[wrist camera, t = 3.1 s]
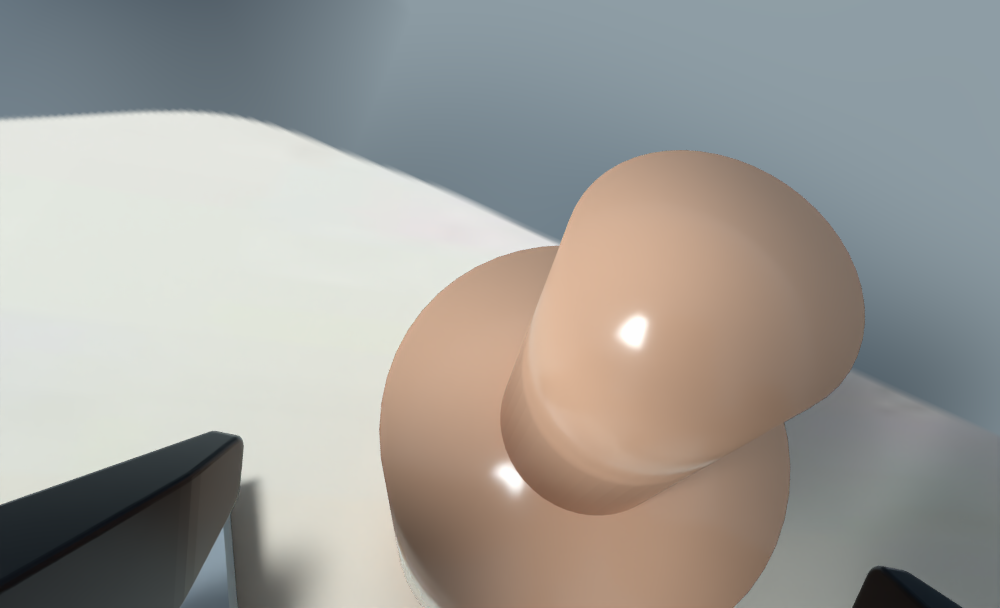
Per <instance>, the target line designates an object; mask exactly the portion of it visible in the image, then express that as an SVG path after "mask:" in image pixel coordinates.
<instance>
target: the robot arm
mask: <svg viewBox="0 0 1000 608" xmlns="http://www.w3.org/2000/svg"><path fill="white" fill-rule="evenodd" d="M243 448H244V445H243V440H242V438H241V437H240V436H237V435H233V434H228V433H223V432H218V431H211V432H207V433H205V434H202V435H199V436H196V437H193V438H190V439H187V440H185V441H182V442H179V443H176V444H173V445H170V446H167V447H165V448H162V449H159V450H156V451H153V452H150V453H147V454H145V455H142V456H139V457H136V458H133V459H130V460H127V461H125V462H122V463H119V464H116V465H113V466H110V467H107V468H105V469H102V470H99V471H96V472H93V473H90V474H87V475H85V476H82V477H79V478H76V479H73V480H70V481H67V482H64V483H62V484H59V485H56V486H53V487H50V488H47V489H44V490H42V491H39V492H36V493H33V494H30V495H27V496H24V497H22V498H19V499H16V500H13V501H10V502H7V503H4V504H2V505H0V608H180V607H181V605H182V604H183V602H184V601H185V599H186V597H187V595H188V593H189V591H190V590H191V588H192V586H193V584H194V582H195V580H196V578H197V576H198V574H199V573H200V571H201V569H202V567H203V565H204V563H205V561H206V559H207V557H208V555H209V553H210V551H211V549H212V548H213V546H214V544H215V542H216V540H217V538H218V536H219V534H220V532H221V530H222V528H223V526H224V524H225V523H226V521H227V519H228V517H229V515H230V513H231V511H232V509H233V507H234V505H235V503H236V500H237V497H238V494H239V490H240V481H241V470H242V459H243ZM852 608H962V607H961V606H959V605H958V604H956V603H955V602H953V601H952V600H950V599H949V598H947V597H945V596H944V595H942V594H941V593H939V592H938V591H936V590H935V589H933V588H932V587H930V586H929V585H927V584H926V583H924V582H923V581H921V580H919V579H918V578H916V577H915V576H913V575H912V574H910V573H908V572H906V571H903V570H899V569H894V568H889V567H884V566H876V567H874V568H872V569H871V570H870V571H869V573H868V574H867V577H866V579H865V581H864V583H863V585H862V588H861V590H860V592H859V594H858V596H857V598H856V601H855V603H854V605H853V607H852Z"/></svg>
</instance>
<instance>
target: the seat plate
mask: <svg viewBox="0 0 1000 608" xmlns="http://www.w3.org/2000/svg"><path fill="white" fill-rule="evenodd" d="M180 608H238V605H237V593H236V580H235V568H234V555H233V543H232V530H231V518H230V515H229V517H228V519H227V521H226V523H225V524H224V526H223V528H222V530H221V532H220V534H219V536H218V538H217V540H216V542H215V544H214V546H213V548H212V549H211V551H210V553H209V555H208V557H207V559H206V561H205V563H204V565H203V567H202V569H201V571H200V573H199V574H198V576H197V578H196V580H195V582H194V584H193V586H192V588H191V590H190V591H189V593H188V595H187V597H186V599H185V601H184V602H183V604H182V605H181V607H180Z"/></svg>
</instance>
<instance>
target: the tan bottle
mask: <svg viewBox="0 0 1000 608" xmlns="http://www.w3.org/2000/svg"><path fill="white" fill-rule="evenodd" d="M864 309H865V307H864V299H863V294H862V288H861V284H860V281H859V278H858V274H857V271H856V269H855V266H854V264H853V262H852V260H851V258H850V255H849V253H848V251H847V250H846V248H845V246H844V245H843V243H842V241H841V239H840V238H839V236H838V235H837V234H836V232H835V231H834V230H833V228H832V227H831V226H830V224H829V223H828V222H827V221H826V220H825V218H824V217H823V216H822V215H821V214H820V213H819V212H818V211H817V210H816V209H815V208H814V207H813V206H812V205H811V204H810V203H809V202H808V201H807V200H806V199H805V198H803V197H802V196H801V195H800V194H798V193H797V192H796V191H794V190H793V189H792V188H791V187H789V186H788V185H787V184H785V183H783V182H782V181H780V180H778V179H777V178H775V177H774V176H772V175H770V174H768V173H766V172H764V171H762V170H760V169H758V168H756V167H754V166H752V165H749V164H747V163H744V162H741V161H739V160H736V159H733V158H729V157H725V156H722V155H718V154H712V153H706V152H701V151H688V150H676V151H662V152H655V153H649V154H646V155H642V156H638V157H635V158H632V159H630V160H628V161H625V162H623V163H620V164H619V165H617V166H615V167H613V168H612V169H610V170H608V171H607V172H606V173H604V174H603V175H602V176H601V177H599V178H598V179H597V180H596V181H594V182H593V184H592V185H591V186H590V187H589V188H588V189H587V190H586V191H585V193H584V194H583V196H582V197H581V198H580V200H579V202H578V203H577V205H576V206H575V208H574V211H573V213H572V216H571V218H570V220H569V223H568V225H567V228H566V230H565V233H564V236H563V239H562V241H561V243H560V246H547V247H538V248H532V249H527V250H521V251H517V252H514V253H510V254H507V255H504V256H501V257H497V258H495V259H493V260H491V261H488V262H486V263H484V264H482V265H479V266H477V267H475V268H474V269H472V270H470V271H469V272H467V273H465V274H464V275H462V276H461V277H459V278H457V279H456V280H455V281H453V282H452V283H451V284H450V285H448V286H447V287H446V288H445V289H443V290H442V291H441V292H440V293H438V294H437V296H436V297H435V298H434V299H433V300H432V301H431V302H430V303H429V304H428V305H427V306H426V307H425V308H424V309H423V310H422V311H421V313H420V314H419V316H418V317H417V318H416V320H415V321H414V323H413V324H412V325H411V327H410V328H409V329H408V331H407V333H406V335H405V337H404V338H403V340H402V342H401V344H400V346H399V348H398V350H397V352H396V354H395V357H394V359H393V362H392V365H391V368H390V370H389V373H388V376H387V380H386V384H385V389H384V393H383V398H382V403H381V415H380V428H379V432H380V449H381V461H382V466H383V471H384V477H385V482H386V488H387V493H388V499H389V504H390V510H391V515H392V520H393V526H394V531H395V537H396V542H397V548H398V553H399V558H400V563H401V567H402V570H403V573H404V576H405V579H406V581H407V583H408V585H409V587H410V589H411V591H412V593H413V594H414V596H415V597H416V599H417V600H418V602H419V603H420V605H421V606H422V607H423V608H733V607H734V606H735V605H736V604H737V603H738V602H739V601H740V600H741V599H742V598H743V597H744V596H745V595H746V594H747V593H748V592H749V590H750V589H751V588H752V586H753V585H754V583H755V582H756V580H757V579H758V578H759V576H760V575H761V573H762V572H763V570H764V569H765V567H766V565H767V563H768V561H769V559H770V557H771V555H772V553H773V551H774V549H775V547H776V544H777V541H778V538H779V535H780V532H781V529H782V526H783V523H784V519H785V514H786V508H787V503H788V497H789V485H790V458H789V447H788V438H787V434H786V429H785V424H784V422H786V421H788V420H789V419H791V418H793V417H795V416H796V415H798V414H800V413H802V412H803V411H805V410H807V409H809V408H810V407H812V406H814V405H815V404H817V403H818V402H820V401H821V400H823V399H824V398H826V397H827V396H828V395H829V394H830V393H832V392H833V391H834V390H835V389H836V388H837V387H838V386H839V385H840V384H841V382H842V381H843V380H844V378H845V377H846V376H847V374H848V373H849V372H850V370H851V368H852V366H853V364H854V362H855V360H856V358H857V356H858V353H859V350H860V346H861V343H862V340H863V333H864V325H865V310H864Z"/></svg>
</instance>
